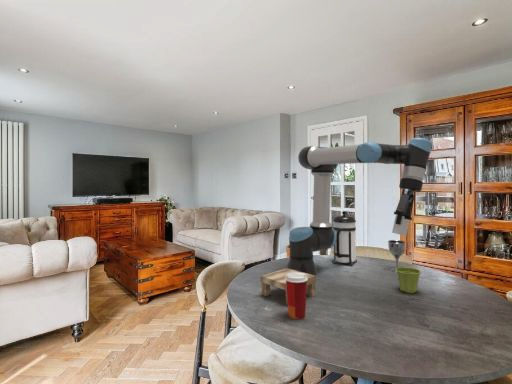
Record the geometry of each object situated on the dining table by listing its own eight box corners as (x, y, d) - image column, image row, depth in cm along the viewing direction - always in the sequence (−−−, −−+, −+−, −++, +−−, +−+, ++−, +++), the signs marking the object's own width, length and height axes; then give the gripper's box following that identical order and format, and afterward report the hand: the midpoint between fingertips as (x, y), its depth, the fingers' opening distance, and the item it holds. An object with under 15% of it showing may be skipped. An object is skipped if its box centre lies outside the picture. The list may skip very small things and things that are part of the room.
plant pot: (424, 295, 114) (424, 273, 114) (399, 294, 116) (399, 272, 116) (416, 287, 123) (416, 267, 123) (393, 286, 125) (392, 266, 125)
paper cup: (309, 312, 101) (309, 272, 101) (306, 322, 93) (305, 279, 93) (288, 309, 103) (287, 270, 103) (282, 318, 96) (282, 277, 96)
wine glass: (406, 269, 150) (405, 240, 150) (404, 273, 143) (404, 243, 143) (389, 267, 154) (389, 239, 154) (387, 271, 148) (387, 242, 148)
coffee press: (325, 260, 171) (325, 210, 171) (351, 259, 173) (350, 209, 172) (337, 268, 154) (336, 212, 153) (365, 267, 156) (364, 212, 155)
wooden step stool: (261, 295, 117) (260, 276, 117) (286, 285, 128) (286, 268, 128) (290, 306, 105) (290, 285, 105) (316, 295, 116) (316, 275, 116)
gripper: (419, 173, 95) (405, 235, 95) (426, 187, 115) (414, 238, 115) (395, 170, 100) (381, 230, 99) (406, 184, 120) (394, 233, 119)
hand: (399, 234), depth 107 cm, fingers open, 13 cm apart
